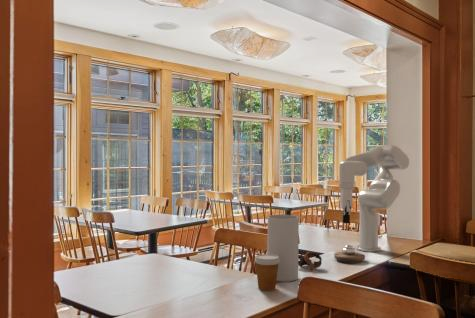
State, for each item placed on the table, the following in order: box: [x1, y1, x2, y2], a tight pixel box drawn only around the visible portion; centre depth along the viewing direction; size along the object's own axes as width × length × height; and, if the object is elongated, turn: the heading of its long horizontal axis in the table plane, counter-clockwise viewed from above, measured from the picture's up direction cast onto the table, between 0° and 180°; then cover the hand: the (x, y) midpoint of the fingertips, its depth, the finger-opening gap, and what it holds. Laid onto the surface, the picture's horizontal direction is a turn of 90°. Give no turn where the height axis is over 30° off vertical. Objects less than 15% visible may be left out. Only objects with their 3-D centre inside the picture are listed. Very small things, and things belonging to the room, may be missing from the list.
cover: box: [341, 244, 356, 255], centre depth 222 cm, size 6×6×4 cm
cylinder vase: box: [266, 214, 300, 283], centre depth 187 cm, size 12×12×25 cm
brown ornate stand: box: [298, 251, 323, 272], centre depth 203 cm, size 12×9×8 cm
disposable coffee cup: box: [253, 253, 280, 292], centre depth 173 cm, size 10×10×12 cm
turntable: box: [334, 251, 366, 264], centre depth 219 cm, size 14×14×3 cm
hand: (346, 222), depth 230 cm, fingers closed
